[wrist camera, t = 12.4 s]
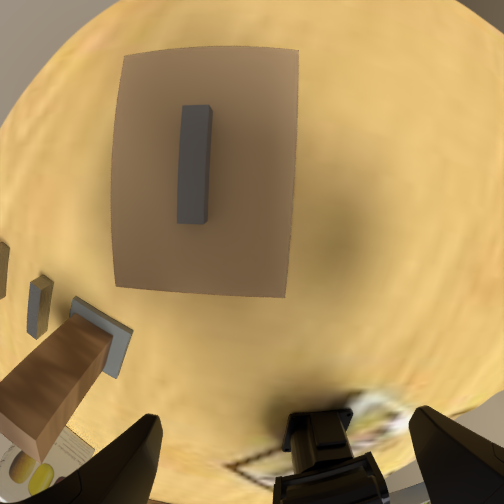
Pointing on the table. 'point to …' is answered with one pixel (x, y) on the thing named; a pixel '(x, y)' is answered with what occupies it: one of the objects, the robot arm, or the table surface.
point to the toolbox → (205, 170)
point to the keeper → (30, 297)
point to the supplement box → (41, 467)
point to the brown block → (51, 385)
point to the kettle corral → (410, 495)
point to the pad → (111, 326)
